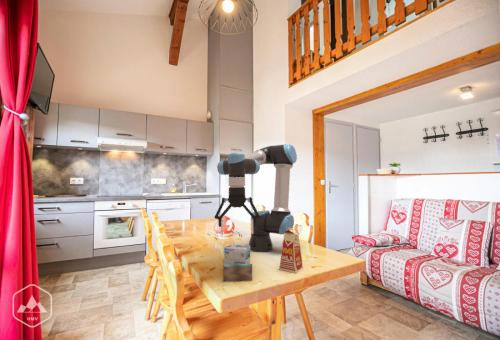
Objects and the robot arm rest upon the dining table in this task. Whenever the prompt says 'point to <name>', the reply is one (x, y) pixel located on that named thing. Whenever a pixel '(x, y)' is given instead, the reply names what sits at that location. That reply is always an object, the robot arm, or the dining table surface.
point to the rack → (238, 272)
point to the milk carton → (291, 252)
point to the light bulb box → (236, 254)
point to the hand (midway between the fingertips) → (237, 233)
